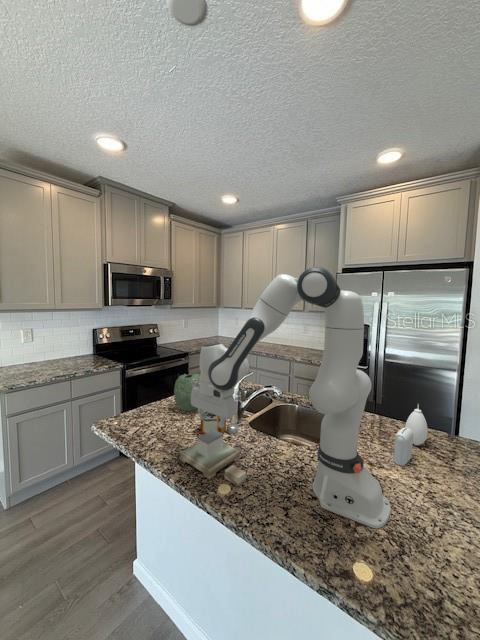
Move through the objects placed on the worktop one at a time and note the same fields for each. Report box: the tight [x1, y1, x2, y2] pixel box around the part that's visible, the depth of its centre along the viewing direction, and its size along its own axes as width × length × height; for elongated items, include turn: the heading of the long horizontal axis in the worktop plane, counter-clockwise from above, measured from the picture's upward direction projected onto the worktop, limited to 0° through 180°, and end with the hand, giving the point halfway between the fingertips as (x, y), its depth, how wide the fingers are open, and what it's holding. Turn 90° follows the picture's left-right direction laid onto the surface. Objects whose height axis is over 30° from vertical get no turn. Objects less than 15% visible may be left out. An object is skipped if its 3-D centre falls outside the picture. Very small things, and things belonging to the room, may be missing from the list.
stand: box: [179, 442, 241, 480], centre depth 102 cm, size 16×16×3 cm
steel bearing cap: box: [226, 422, 239, 436], centre depth 123 cm, size 5×5×3 cm
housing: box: [197, 430, 224, 458], centre depth 101 cm, size 8×5×6 cm, turn 140°
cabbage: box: [173, 373, 201, 412], centre depth 144 cm, size 16×19×20 cm
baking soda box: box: [200, 410, 227, 436], centre depth 121 cm, size 10×6×16 cm
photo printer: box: [392, 426, 413, 467], centre depth 104 cm, size 10×4×12 cm, turn 132°
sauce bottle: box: [404, 403, 428, 446], centre depth 116 cm, size 8×8×18 cm
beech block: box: [224, 464, 247, 487], centre depth 91 cm, size 6×4×3 cm, turn 50°
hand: (211, 423), depth 100 cm, fingers open, 8 cm apart
